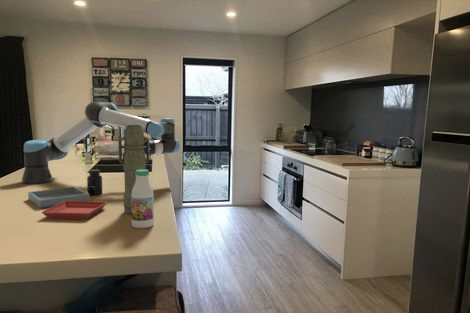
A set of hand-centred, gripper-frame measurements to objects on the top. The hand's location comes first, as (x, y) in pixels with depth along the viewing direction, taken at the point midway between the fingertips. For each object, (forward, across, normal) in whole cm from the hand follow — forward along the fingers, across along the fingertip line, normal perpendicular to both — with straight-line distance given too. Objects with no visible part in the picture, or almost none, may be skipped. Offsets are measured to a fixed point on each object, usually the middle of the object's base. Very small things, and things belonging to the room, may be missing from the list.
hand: (114, 150), depth 177 cm
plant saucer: (+28, -28, -22) cm, 45 cm away
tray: (+27, -2, -21) cm, 34 cm away
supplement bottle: (+10, 0, -21) cm, 24 cm away
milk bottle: (+15, -58, -22) cm, 64 cm away
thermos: (+9, -40, -22) cm, 46 cm away
